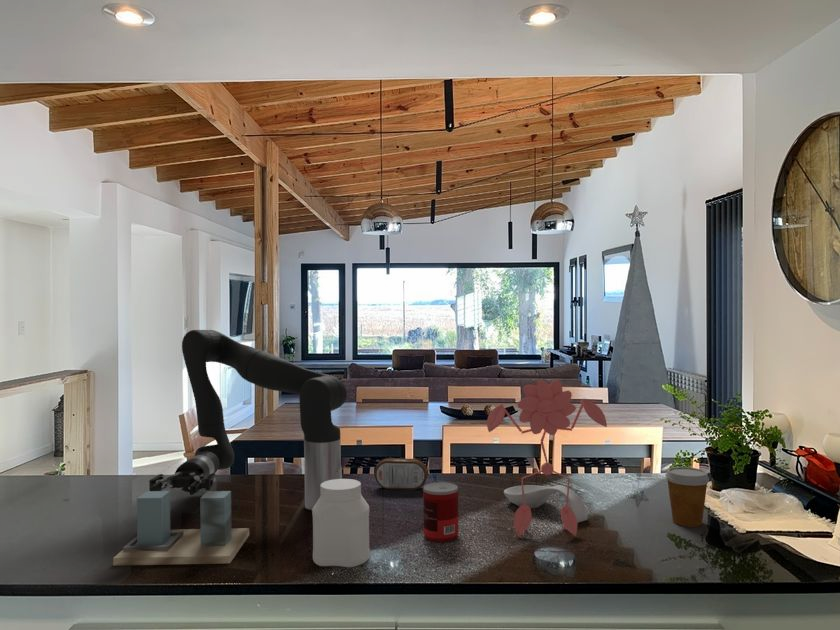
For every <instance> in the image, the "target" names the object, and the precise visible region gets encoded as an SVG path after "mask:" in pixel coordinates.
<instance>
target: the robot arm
mask: <svg viewBox="0 0 840 630" xmlns="http://www.w3.org/2000/svg"><path fill="white" fill-rule="evenodd" d="M181 352H182V356H183V361H184V363H185V368H186V372H187V375H188V379H189V383H190V385H191V389H192V393H193V397H194V403H195V404H194V405H195V410H196V411H195V412H196V418H197V419H196V420H197V429H198V430H197V431H198V434H199V436H200V437H204V438H211V439H214V440H215V441H216V442H217V443H215V444H210V445H204V446H200V447H198V448H196V450H195V452H194V456H192V457H189V458H188V459H187V460H185V461H184V462H183V463H182V464H180V465H179V466H178V467H177V468H176V470H175V472H174V473H173V474H169V475H166V476H164V474H163V473H160V474H158V475H156V476H154V477H152V478H151V479H149V480H148V481H149V486H148V487H149V491H170V492H172V491H174V490H175V491H176V490H179V491H180V490H181V491H183V492H186V493H189V496H194V495H195V494H196V493H198V492H201V491H203V489H205V491H211V490H212V489H213V487H214V486H215V485H216V473H217V472H218V471H220V470H226V469H229V468H231V467H232V466H233V464H234V462H235V452H234V449H233V447H232V444H231V442H230V439H229V437H228V433H227V431H226V427H225V419H224V410H223V404H222V402H221V398H220V396H219V395H218V393H217V391H216V389H215V388H214V386H213V385H212V383H211V382H212V381H211V380H210V378H209V374H208V370H207V363H220V364H222V365H226V366H229V367H231V368H233V369H234V370H235V371H236V372H237V374H239V376H240V377H241V378H242V379H243V380H244V381H246V382H249V383H251V384H253V385H255V386H257V387H260V388H263V389H267V390H271V391H276V392H284V393H291V394H295V395H299V400H298V401H299V416H300V426H301V430H302V433H303V439H304V440H303V448H304V449H303V451H304V452H303V454H304V455H303V456H304V457H303V459H304V460H303V461H304V464H303V465H304V508H305V509H306V510H308V511H312V509H313V507H314V505H315V504H316V502H317V501H318V499H319V498H320V495H321V494H320V492H321V491H320V485H321V484H322V483H323V482H325V481H329V480H334V479H343V474H342V473H343V471H342V470H343V467H342V463H341V459H342V458H341V456H342V455H341V453H342V452H341V449H342V448H341V445H342V444H341V428H340V427H339V426H337V425H335V424H333V421H332V419H333V418H332V411H335V410H337V409H339V408H340V407H342V406H343V405H344V404H345V402H346V400H347V397H348V393H347V388H346V385H345V384H344V383H343V381H341V379H339V378H337V377H336V376H333V375H329V374H326V373H322V372H318V371H314V370H311V369H308V368H305V367H303V366H300V365H298V364H296V363H294V362H292V361H289V360H287V359H283V358H281V357H279V356H277V355H275V354H272V353H270V352H268V351H265V350H263V349H262V350H261V349H258V348H255V347H253V346H250V345H246V344H244V343H243V344H242V343H241V342H238V341H237V340H234V339H233V338H230V337H229V336H227V335H226V334H223V333H222V332H220V331H218V330H215V329H214V330H213V329H191V330H189V331H187V332H186V333H185V334H184V336H183V337H182V341H181Z"/></svg>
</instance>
